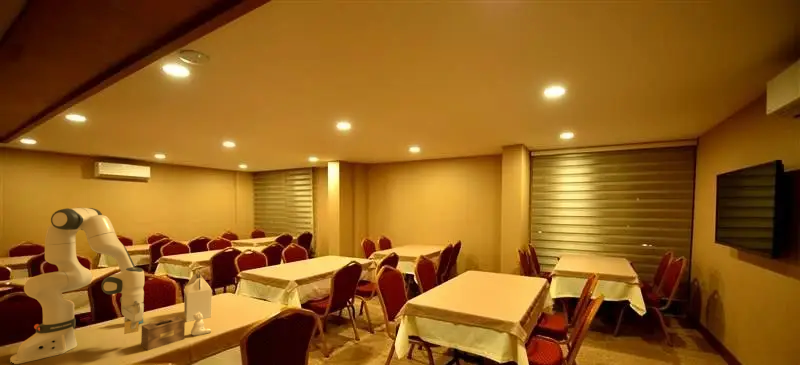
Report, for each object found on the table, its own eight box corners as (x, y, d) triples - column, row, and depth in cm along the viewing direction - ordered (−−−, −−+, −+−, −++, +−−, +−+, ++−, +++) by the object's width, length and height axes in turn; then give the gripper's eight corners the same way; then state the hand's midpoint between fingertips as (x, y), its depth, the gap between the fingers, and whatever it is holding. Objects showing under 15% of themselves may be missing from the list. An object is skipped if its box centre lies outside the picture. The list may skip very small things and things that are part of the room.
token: (124, 334, 165) (124, 322, 165) (124, 332, 167) (124, 320, 167) (138, 331, 168) (138, 319, 168) (138, 329, 170) (138, 317, 171)
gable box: (184, 312, 218) (185, 270, 219) (207, 308, 226) (207, 267, 227) (186, 322, 200) (187, 275, 202) (211, 317, 208) (212, 272, 210)
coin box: (148, 350, 162) (148, 329, 162) (141, 345, 168) (141, 325, 168) (184, 339, 175) (184, 320, 175) (176, 334, 181) (177, 316, 181)
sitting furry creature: (212, 332, 183) (212, 310, 184) (196, 338, 176) (196, 315, 176) (203, 329, 188) (203, 308, 189) (186, 334, 180) (187, 312, 181)
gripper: (147, 302, 165) (145, 330, 164) (134, 294, 177) (132, 320, 176) (131, 305, 160) (130, 334, 159) (119, 297, 172) (117, 324, 171)
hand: (131, 327), depth 168 cm, fingers closed on token, 3 cm apart
